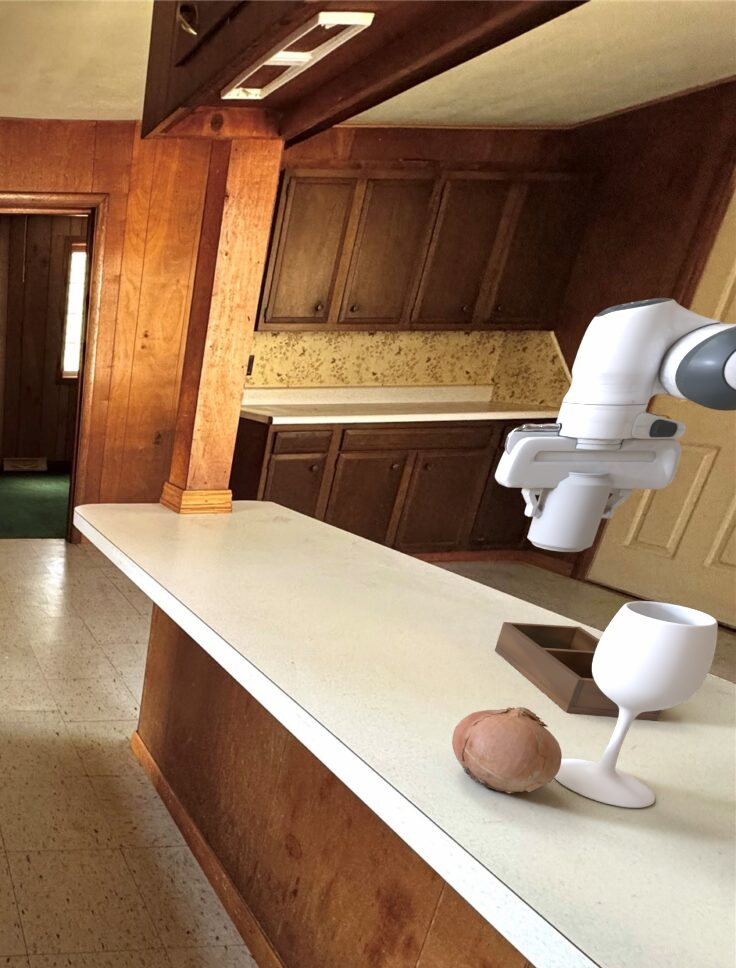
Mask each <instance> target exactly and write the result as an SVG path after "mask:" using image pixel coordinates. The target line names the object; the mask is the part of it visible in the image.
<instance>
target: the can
mask: <svg viewBox="0 0 736 968" xmlns="http://www.w3.org/2000/svg"><path fill="white" fill-rule="evenodd" d="M569 474H570V476H569V477H568V478H566V479H564V480H563V481H561V482H559V485H558V487H556V488H542V489H541V492H540V494H539V495H538V496H539V497H538V499H537V503H539V504H540V505H543V506H545V507H544V510H543V511H542V513H543V514H542V516H541V517H532V520H531V524H530V525H529V526H530V527H529V529H528V534H527V539H528V540H529V541H530V542H531V544H532V545H533V546H535V547H537V548H539V549H544V550H549V551H555V552H562V553H579V552H583V551H584V550H586V549H589V548H591V547H592V546H593V544H594V541H595V539H596V535H597V532H598V530H599V526H600V523H601V521H602V519H603V518H602V515H603V512H604V509H605V506H606V503H607V500H608V499H609V498H610V494H611V493H610V491H611V488H612V485H613V482H612V481H611V480H610V479H609V478H608V475H609V474H610V472H607V473H599V474H590V473H575V472H569Z"/></svg>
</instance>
